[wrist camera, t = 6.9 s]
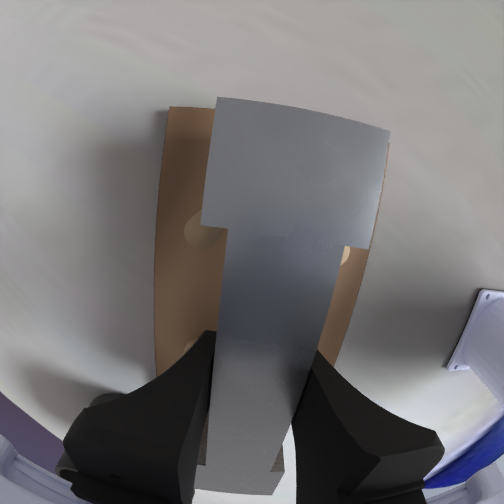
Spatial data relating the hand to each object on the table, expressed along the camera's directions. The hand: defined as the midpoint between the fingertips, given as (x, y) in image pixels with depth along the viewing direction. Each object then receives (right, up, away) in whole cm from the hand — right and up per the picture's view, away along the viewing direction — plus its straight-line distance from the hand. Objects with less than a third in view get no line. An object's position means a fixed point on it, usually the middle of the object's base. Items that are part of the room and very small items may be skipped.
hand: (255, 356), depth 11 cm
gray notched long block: (0, +1, +2) cm, 3 cm away
